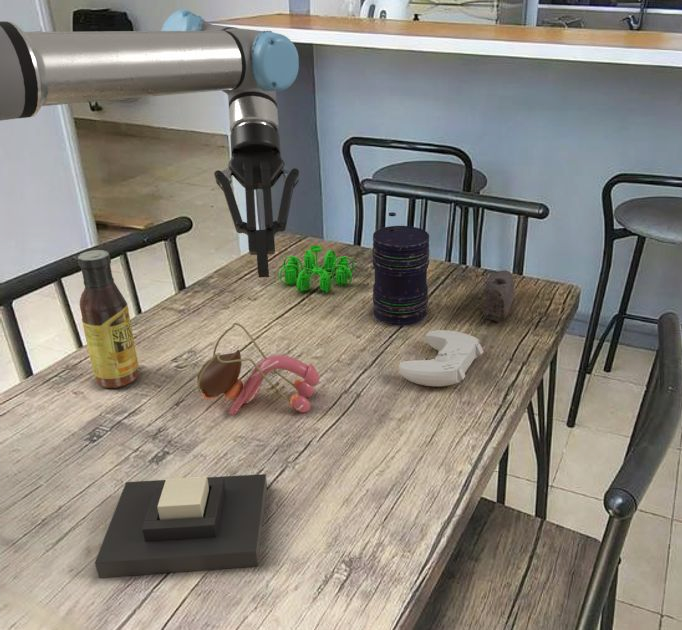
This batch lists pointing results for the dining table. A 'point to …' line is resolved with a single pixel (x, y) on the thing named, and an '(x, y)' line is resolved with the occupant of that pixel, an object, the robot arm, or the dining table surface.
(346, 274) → the chandelier
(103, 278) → the sauce bottle
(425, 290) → the storage jar
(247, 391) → the anatomy model
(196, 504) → the key
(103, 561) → the stepped tiered pedestal
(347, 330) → the dining table surface
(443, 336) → the game controller
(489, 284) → the perforated stone tool
